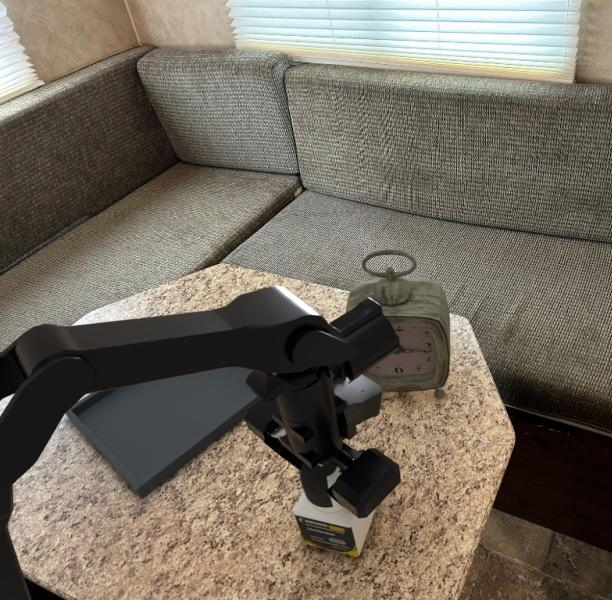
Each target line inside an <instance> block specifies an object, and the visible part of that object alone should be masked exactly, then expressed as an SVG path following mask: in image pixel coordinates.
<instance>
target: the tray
mask: <svg viewBox="0 0 612 600" xmlns="http://www.w3.org/2000/svg"><path fill="white" fill-rule="evenodd" d="M251 372H252V370H248V369H244V368H223V369H217V370H212V371H207V372H202V373H196V374H191V375H186V376H180V377H175V378H170V379H164V380H159V381H154V382H148V383H143V384H138V385H133V386H127V387H122V388H117V389H111V390H106V391H101V392H95V393H90V394H86V395H85V396H83V397H82V398H81V399H80V400H79V401H78V402H77V403H76V404H75V405H74V406H73V407H71V408H70V409H69V410H68V411H67V412H66V413H65V414H64V415H66V417H67V418H68V420H69V421H70V422H71V424H72V425H73V426H75V428H76V429H77V430H78V431H79V432H80V433H81V434H82V436H83V437H84V438H85V439H86V440H87V441H88V442H89V443H90V444H91V445H92V446H93V447H94V449H95V450H96V451H97V452H98V453H99V454H100V455H101V456H102V457H103V458H104V459H105V461H107V463H108V464H109V465H110V466H111V467H112V468H113V470H115V472H117V474H118V475H119V476H120V477H121V478H122V479H123V480H124V481H125V482H126V483H127V485H129V487H130V488H131V489H132V490H133V491H134V492H135V493H136V494H137V496H138V497H139V498H140V499H144V498H145V497H147V496H148V495H149V494H150V493H151V492H153V491H154V490H155V489H156V488H158V487H159V486H160V485H161V484H163V483H164V482H165V481H167V480H168V479H169V478H170V477H172V476H173V475H175V473H177V472H178V471H180V470H181V469H182V468H183V467H185V466H186V465H187V464H188V463H190V462H191V461H193V460H194V459H195V458H196V457H198V456H199V455H200V454H201V453H202V452H204V451H205V450H207V449H208V448H209V447H210V446H211V445H213V444H214V443H215V442H216V441H218V440H219V439H220V438H221V437H223V436H224V435H226V433H228V432H229V431H230V430H232V429H233V428H234V427H236V426H237V425H238V424H239V423H240V422H242V421H243V420H245V419H244V418H245V416H246V413H247V411H248V408H249V407H251V406H252V405H253V404H255V403H256V402H257V401H258V400H260V399H259V398H258V397H257V396H256V395H255V394H254V393H253V392H252V391H251V389H250V388H249V387H248V386H247V385H246V384H245V379H246V378H247V376H248V375H249V373H251Z"/></svg>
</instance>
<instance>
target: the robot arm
mask: <svg viewBox="0 0 612 600" xmlns="http://www.w3.org/2000/svg"><path fill="white" fill-rule="evenodd" d="M345 312H346V311H345ZM399 346H400V340H399V336H398V335H397V334H396V333H395V330H394V328H393V326H392V325H391V323H390V322H389V320H388V319H387V318H386V316H385V315H384V314H383V311H382V306H381V305H380V304H378V303H377V302H376V301H374V300H373V299H371V298H369V297H368V298H366V299H365V300H363V301H361V302H360V303H359V304H358V305H356V306H355V307H354V308H353V309H351V310H350V311H348V312H346V313H343V314H341V315H340V316H338V317H337V318H335V319H333V320H331V321H330V322H328V321H327V319H326V318H325V316H323V315H322V314H321V313H319V312H318V311H317V310H315V308H313V307H312V306H311V305H309V304H308V303H307V302H305V301H304V300H303V299H302V298H300V297H299V296H297V295H296V294H295V293H294V292H293V291H291V290H290V289H288V288H287V287H284V286H281V285H271V286H267V287H262V288H259V289H256V290H252V291H249V292H244V293H241V294H240V295H238V296H236V297H235V298H234V299H232V300H231V301H230V302H229V303H227V304H226V305H225V306H221V307H217V308H214V309H209V310H198V311H191V312H181V313H174V314H173V313H172V314H163V315H155V316H154V315H153V316H146V317H145V316H144V317H139V318H137V317H136V318H128V319H119V320H111V321H102V322H93V323H84V324H76V325H59V324H55V323H42V324H39V325H35V326H32V327H31V328H29V329H28V330H26V331H24V332H23V333H22V334H21V335H20V336H18V337H17V338H16V339H14V340H13V341H12V342H11V343H10V344H9V345H7V347H6V348H5V349H3V350H1V351H0V402H1V401H2V400H4V399H5V398H8V397H11V398H10V399H9V401H8V402H7V405H6V406H5V407H4V409H3V411H2V413H1V414H0V600H32V595H31V594H30V591H29V587H28V585H27V582H26V579H25V576H24V573H23V569H22V566H21V564H20V560H19V558H18V554H17V551H16V548H15V546H14V543H13V539H12V537H11V534H10V530H9V529H10V527H9V525H10V521H11V518H12V516H13V512H14V509H15V508H14V484H15V483H17V481H18V480H20V478H22V477H23V476H24V475H25V474H26V473H27V472H29V470H30V469H31V468H32V467H33V466H34V465H35V464H36V463H37V461H38V460H39V459H40V457H41V455H42V454H43V453H44V450H45V449H46V447H47V445H48V443H49V442H50V440H51V438H52V437H53V435H54V433H55V432H56V429H57V428H58V426H59V425H60V423H61V421H62V419H64V416H65V415H66V414H65V413H66V412H67V411H68V410H69V409H70V408H71V407H73V406H74V405H75V404H76V403H77V402H78V401H80V400H81V399H83V398H84V397H85V396H87V395H89V394H91V393H95V392H101V391H106V390H111V389H117V388H122V387H127V386H133V385H138V384H143V383H148V382H154V381H159V380H164V379H170V378H175V377H180V376H186V375H191V374H196V373H202V372H207V371H212V370H217V369H223V368H244V369H248V370H252V372H251V373H249V375H248V376H247V378H246V379H245V384H246V385H247V386H248V387H249V388H250V389H251V391H252V392H253V393H254V394H255V395H256V396H257V397H258V398H259V399H260V400H258V401H257V402H256V403H255V404H253V405H252V406H251V407H249V408H248V411H247V413H246V416H245V418H244V419H243V420H244V421H245V424H246V427H247V429H248V430H249V431H250V432H251V433H252V434H254V435H255V437H257V438H259V440H261V441H262V442H263V443H264V444H265V445H266V446H267V447H268V448H269V449H271V450H272V451H273V452H275V453H276V454H277V455H278V456H279V457H280V458H282V459H283V460H285V461H286V462H288V463H289V464H290V465H292V466H293V467H294V468H295V469H297V470H298V471H300V470H301V467H302V465H303V463H305V464H307V465H308V466H309V467H310V468H312V469H313V468H314V467H315V466H316V465H317V464H318V465H319V466H324V465H325V464H326V463H327V461H328V460H329V461H330V462H332V463H333V464H334V465H335V466H337V467H338V468H339V469H340V470H339V471H338V473H339V476H338V477H337V479H336V481H335V483H334V484H333V485H332V486H331V487H330V488H329V489H327V490H326V491H325V493H326V494H327V495H329V496H330V497H331V498H332V499H333V500H335V501H336V502H337V503H338V504H340V505H341V506H342V507H345V508H346V509H347V510H349V511H350V512H351V513H352V514H354V515H355V516H356V517H357V518H358V519H359V518H367V517H368V516H369V515H370V514H371V513H372V512H373V511H374V510H375V509H376V510H377V507H379V506H380V504H382V502H383V501H384V500H385V499H386V498H387V497H388V496H389V495H390V494H391V493H392V492H393V491H394V490H395V489H396V488H397V487H398V486H399V485H400V484H401V482H402V476H401V469H400V464H399V463H397V462H396V461H394V460H393V459H392V458H390V457H389V456H387V455H386V454H385V453H383V452H382V451H380V450H379V449H378V448H376V447H367V448H366V449H358V450H356V449H354V448H353V447H351V446H350V445H349V444H348V443H346V442H345V440H346V439H347V440H348V441H351V440H352V439H353V438H354V437H355V436H356V435H357V434H358V429H357V426H358V425H360V424H363V423H364V422H366V421H368V420H370V419H372V418H377V417H378V416H379V414H380V411H381V407H382V406H381V405H382V401H383V393H384V392H383V388H382V387H381V386H380V385H379V384H377V383H375V382H374V381H372V380H370V379H369V378H367V377H366V376H364V375H362V374H364V373H365V372H367V371H368V370H370V369H371V368H373V367H374V366H376V365H377V364H378V363H380V362H381V361H383V360H384V359H386V358H387V357H389V356H390V355H392V354H393V353H394V352H396V351H397V350H398V349H399ZM376 510H375V511H376Z"/></svg>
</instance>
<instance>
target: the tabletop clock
mask: <svg viewBox="0 0 612 600" xmlns="http://www.w3.org/2000/svg"><path fill="white" fill-rule="evenodd" d="M380 256H401V257H405V258H406V259H408V260H410V261H411V262H412V267H410V268H409V269H406V270H403V271H402V270H401V271H395V268H393V267H392V266H389V267H388V266H387V268H386V269H385V272H379V271H373V270H371V269H368V267H367V266H366V264H367V263H368V261H370V260H371V259H373V258H375V257H380ZM417 266H418V262H417V260H416V258H415V257H414V256H413V255H412V254H411V253H409V252H407V251H403V250H402V249H401V250H400V249H381V250H380V249H379V250H375V251H373V252H371V253H369V254H367V255H366V256H365V257H363V260H362V262H361V267H362V270H363V271H364V272H365V273H366V274H368V275H370V276H372V277H375V279H368V280H364V281H361V282H359V283H357V284H356V285H354V286H351V288H350V290H349V293H348V296H347V301H346V302H347V303H346V307H345V313H346V312H348V311H350V310H351V309H353V308H354V307H355V306H356V305H358V304H359V303H360V302H361V301H363V300H365V299H366V298H368V297H369V298H371V299H373V300H374V301H376V302H377V303H378V304H380V305H381V306H382V311H383V314H384V315H385V316H386V318H387V319H388V320H389V322H390V323H391V325H392V326H393V328H394V330H395V333H396V334H397V335H398V336H399V340H400V346H399V349H398V350H397V351H396V352H394V353H393V354H392V355H390V356H389V357H387V358H386V359H384V360H383V361H381V362H380V363H378V364H377V365H376V366H374V367H373V368H371V369H370V370H368V371H367V372H365V373H364V374H362V375H364V376H366V377H367V378H369V379H370V380H372V381H374V382H375V383H377V384H379V385H380V386H381V387H382V388H383V393H384V392H386V393H409V392H425V391H433V390H434V391H433V396H434V398H435V399H437V400H443V399H444V398H445V397H446V392H445V389H443V387H445V385H446V383H447V382H448V379H449V375H450V370H451V369H450V368H451V316H450V315H451V314H450V308H449V302H448V298H447V296H446V292H445V290H444V289H443V287H442V286H441V284H440V283H438V282H437V281H436V280H432V279H430V278H425V277H405V276H408V275H411V274H412V273H413V272H414V271H416V268H418V267H417ZM376 278H377V279H376ZM345 313H344V314H345Z"/></svg>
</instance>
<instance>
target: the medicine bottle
mask: <svg viewBox="0 0 612 600" xmlns="http://www.w3.org/2000/svg"><path fill="white" fill-rule="evenodd" d="M339 470H340V469H339V468H338V467H337V466H335V465H334V464H333V463H332V462H330V461H329V460H328V461H327V463H326V464H325V465H324V466H319V465H318V464H317V465H316V466H315V467H314V468H313V469H312V468H310V467H309V466H308V465H307V464H305V463H303V465H302V467H301V470H299V481H300V483H301V487H302V489H303V490H302V492H301V495H300V496H299V498H298V501H297V503H296V505H295V508H294V510H293V516H294V518H295V520H296V523H297V526H298V529H299V531H300V532H299V533H300V534H301V536H302V540H303V542H304V544H305V545H308V546H312V547H316V548H320V549H323V550H324V549H325V550H328V551H333V552H337V553H341V554H343V555H348V556H352V557H356V558H357V557H360V555H361V553H362V549H363V547H364V544H365V541H366V538H367V535H368V532H369V530H370V526H371V524H372V522H373V518H374V515H375V513H376V511H377V508H376V509H375V510H374V511H373V512H372V513H371V514H370V515H369V516H368V517H367V518H359V519H358V518H357V517H356V516H355V515H354V514H352V513H351V512H350V511H349V510H347V509H346V508H345V507H342V506H341V505H340V504H338V503H337V502H336V501H335V500H333V499H332V498H331V497H330V496H329V495H327V494H326V493H325V491H326V490H327V489H329V488H330V487H331V486H332V485H333V484H334V483H335V481H336V479H337V477H338V476H339V473H338V471H339Z"/></svg>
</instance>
